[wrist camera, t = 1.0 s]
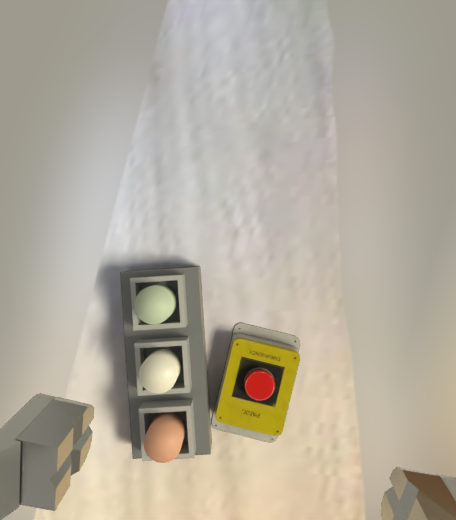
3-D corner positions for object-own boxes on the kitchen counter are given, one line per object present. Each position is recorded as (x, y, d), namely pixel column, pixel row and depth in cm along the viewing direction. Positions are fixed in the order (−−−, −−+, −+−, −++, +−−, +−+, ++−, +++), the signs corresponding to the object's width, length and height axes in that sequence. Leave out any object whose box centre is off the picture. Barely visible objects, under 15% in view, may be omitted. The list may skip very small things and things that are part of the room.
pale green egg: (177, 318, 42) (173, 323, 39) (142, 320, 42) (135, 325, 39) (175, 283, 42) (171, 285, 39) (140, 285, 42) (133, 287, 39)
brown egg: (186, 447, 42) (182, 461, 39) (151, 449, 42) (144, 463, 39) (184, 411, 42) (180, 423, 39) (148, 413, 42) (142, 425, 39)
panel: (211, 441, 46) (209, 463, 41) (139, 445, 47) (127, 468, 42) (200, 266, 46) (196, 267, 41) (127, 271, 46) (114, 272, 41)
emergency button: (308, 344, 42) (279, 460, 42) (301, 336, 47) (275, 441, 47) (235, 326, 42) (207, 442, 43) (235, 320, 47) (210, 425, 47)
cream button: (182, 382, 42) (178, 392, 39) (146, 385, 42) (140, 394, 39) (179, 347, 42) (175, 354, 39) (144, 349, 42) (137, 356, 39)
